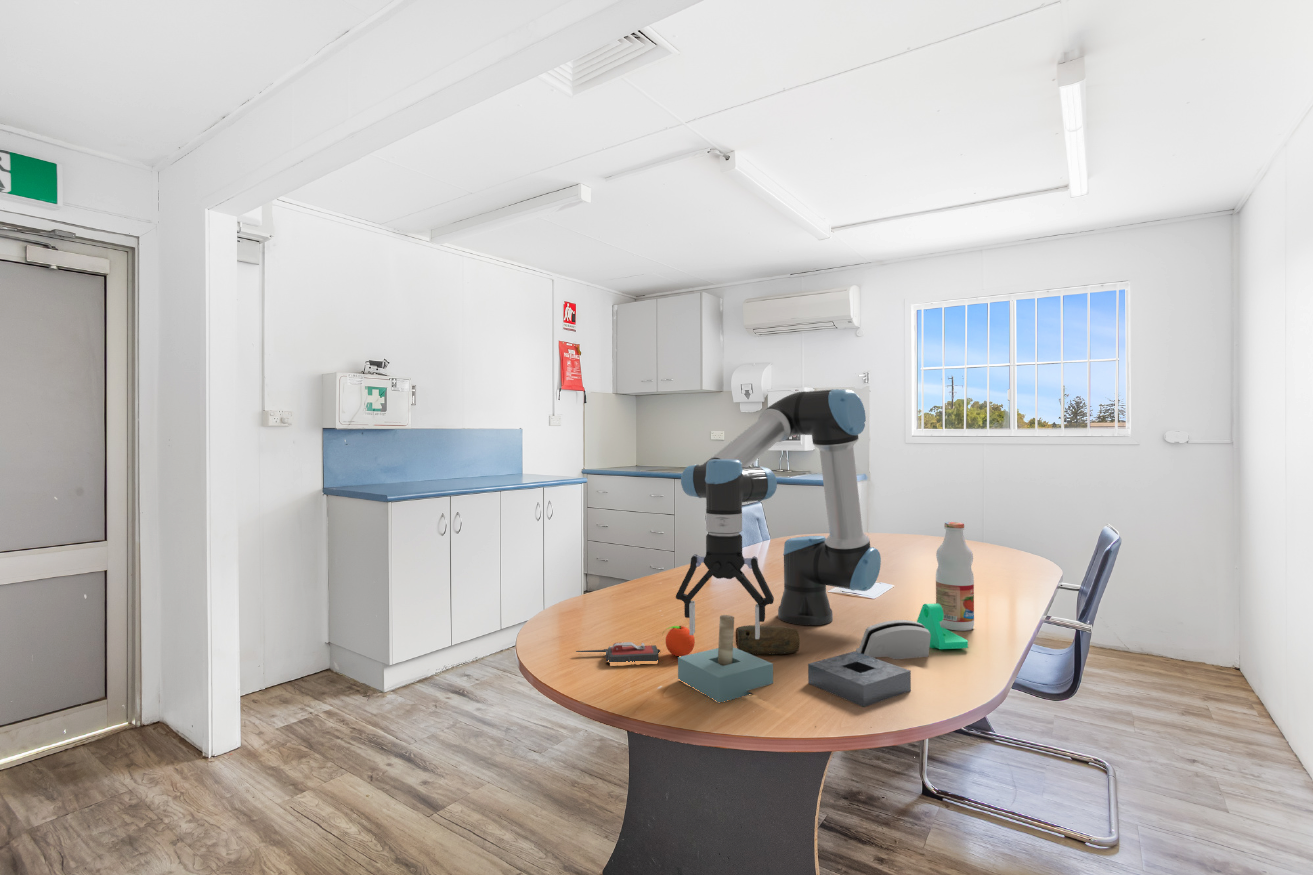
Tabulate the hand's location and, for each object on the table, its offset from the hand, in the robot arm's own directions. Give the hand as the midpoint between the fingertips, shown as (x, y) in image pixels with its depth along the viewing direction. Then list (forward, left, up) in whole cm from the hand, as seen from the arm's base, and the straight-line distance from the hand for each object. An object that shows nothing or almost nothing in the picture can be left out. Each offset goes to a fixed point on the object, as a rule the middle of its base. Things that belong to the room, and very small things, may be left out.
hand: (724, 635), depth 134 cm
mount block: (+18, +20, -10) cm, 29 cm away
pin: (0, 0, -9) cm, 9 cm away
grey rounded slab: (+9, +43, -11) cm, 45 cm away
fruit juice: (+2, +78, -10) cm, 79 cm away
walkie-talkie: (-25, -11, -11) cm, 30 cm away
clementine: (-20, +2, -10) cm, 23 cm away
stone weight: (-10, +21, -11) cm, 25 cm away
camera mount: (+9, +61, -11) cm, 63 cm away
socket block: (0, 0, -10) cm, 10 cm away
